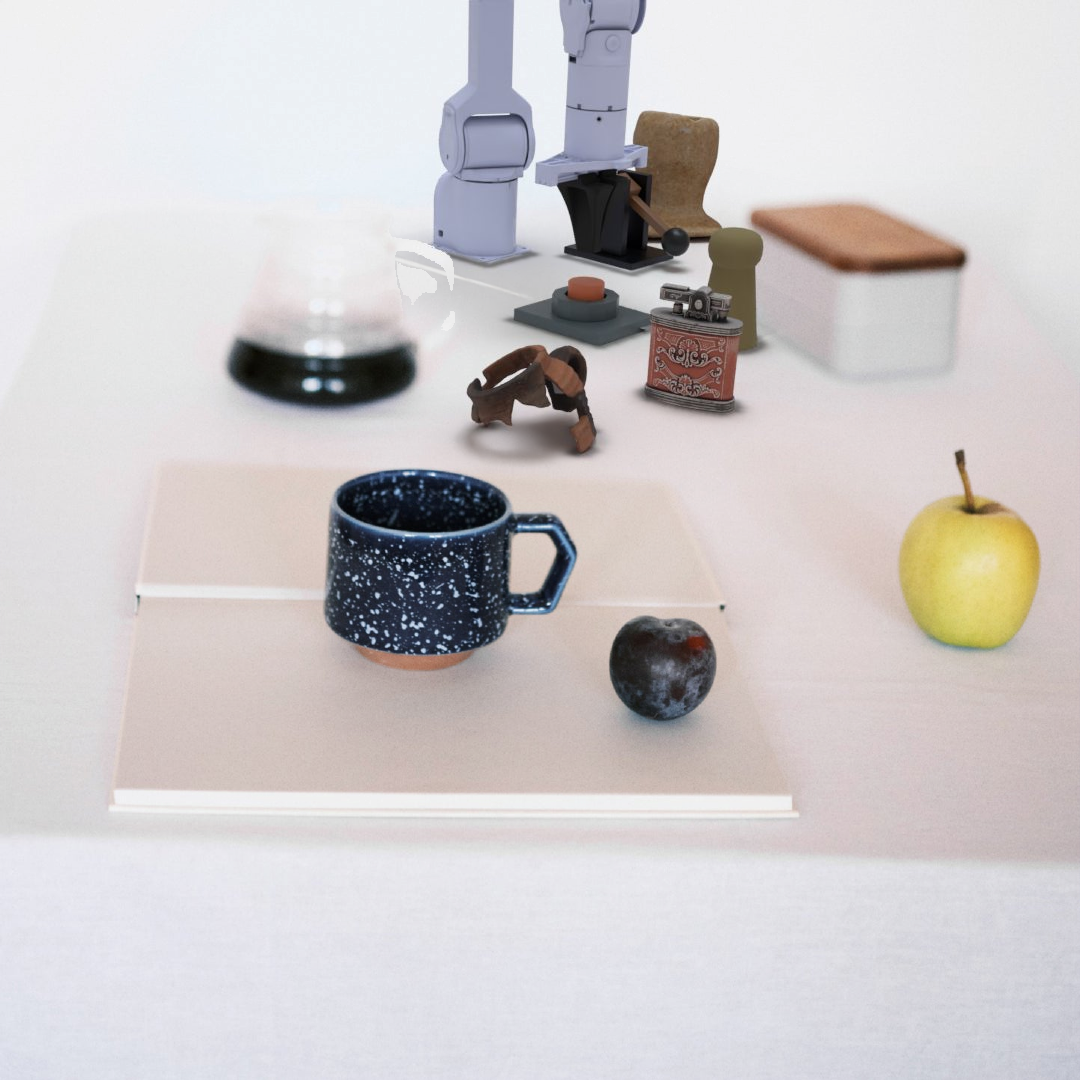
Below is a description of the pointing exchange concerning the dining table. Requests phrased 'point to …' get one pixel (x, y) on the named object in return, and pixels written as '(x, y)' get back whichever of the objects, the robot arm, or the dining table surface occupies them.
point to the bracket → (627, 232)
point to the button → (586, 288)
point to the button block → (584, 317)
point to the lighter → (693, 349)
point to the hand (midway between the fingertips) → (588, 250)
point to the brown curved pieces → (535, 388)
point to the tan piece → (679, 168)
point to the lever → (659, 224)
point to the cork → (737, 276)
